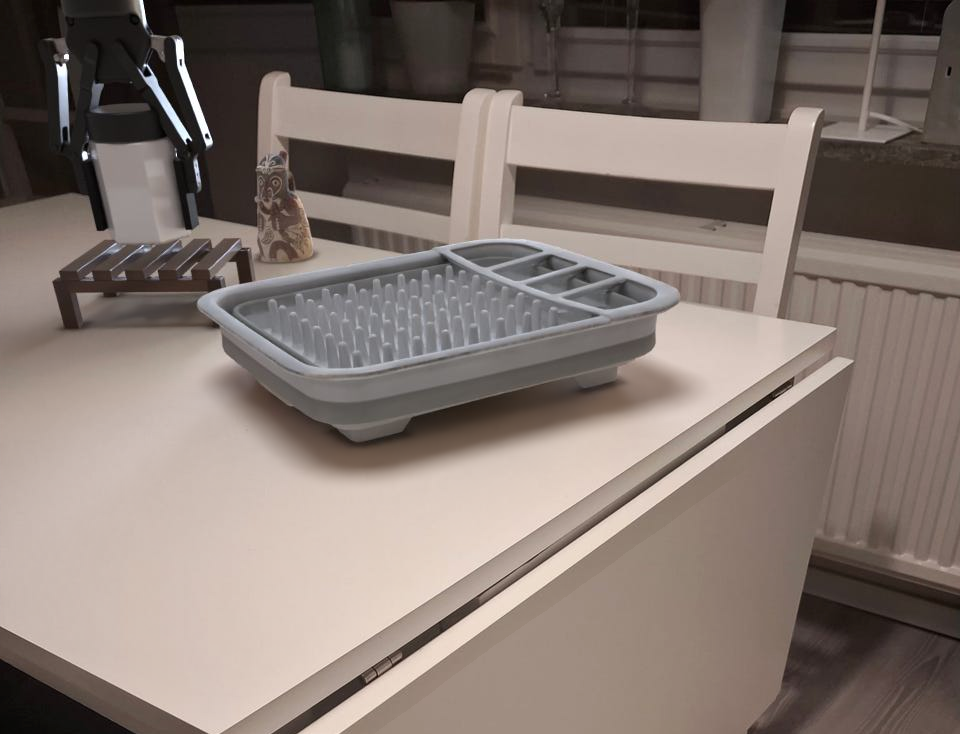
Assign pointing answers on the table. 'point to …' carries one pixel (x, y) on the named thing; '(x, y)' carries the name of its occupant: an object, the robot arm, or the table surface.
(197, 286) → the rack
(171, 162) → the jar
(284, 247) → the figurine
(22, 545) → the table surface
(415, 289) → the dish rack
